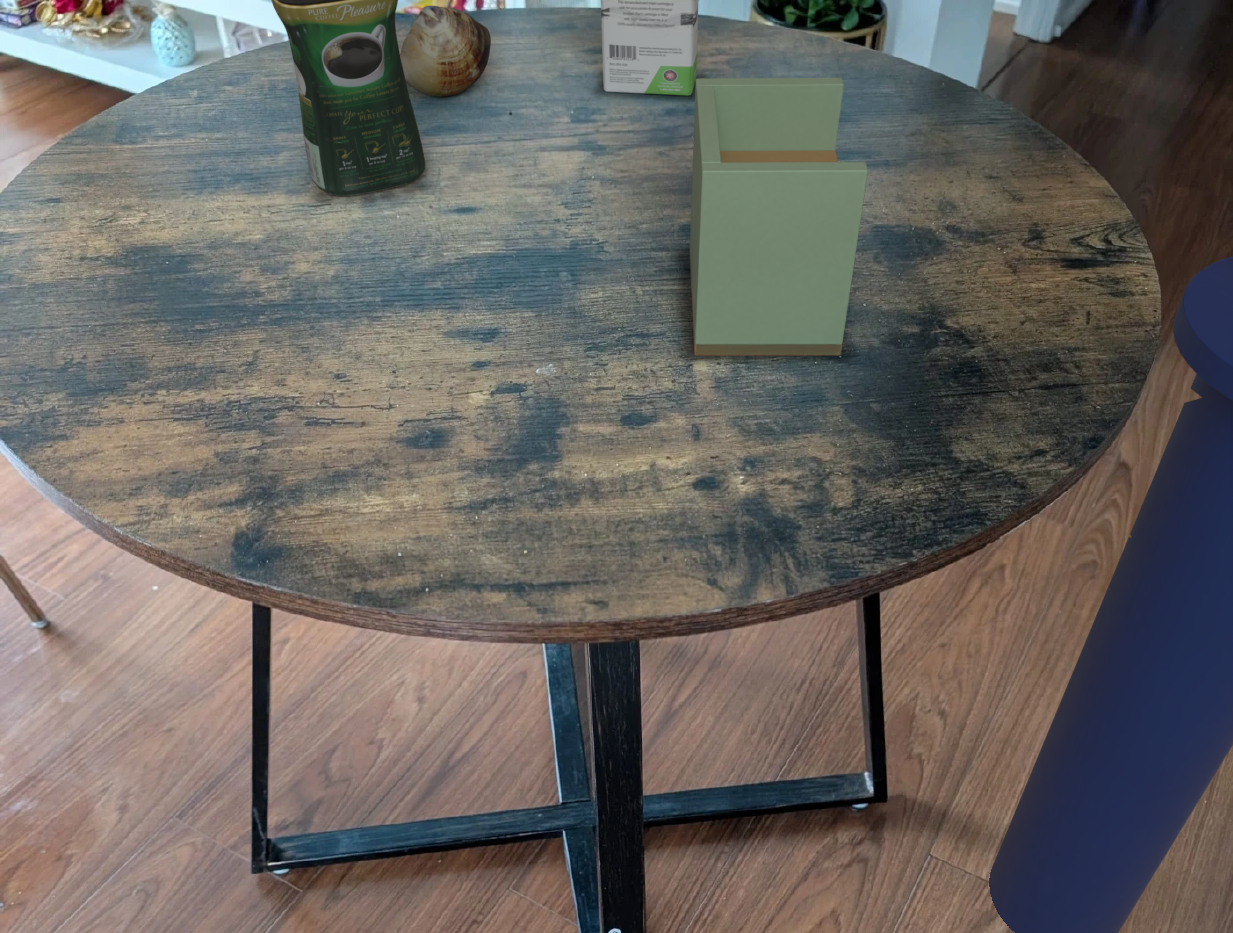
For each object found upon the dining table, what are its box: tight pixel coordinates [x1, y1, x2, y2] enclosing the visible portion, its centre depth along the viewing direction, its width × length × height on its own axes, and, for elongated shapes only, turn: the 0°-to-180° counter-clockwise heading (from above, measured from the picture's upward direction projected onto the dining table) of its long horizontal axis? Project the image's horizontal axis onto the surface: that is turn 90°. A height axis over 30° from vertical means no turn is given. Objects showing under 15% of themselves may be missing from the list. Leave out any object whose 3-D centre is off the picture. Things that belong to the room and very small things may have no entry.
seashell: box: [400, 5, 492, 97], centre depth 107 cm, size 10×6×8 cm, turn 127°
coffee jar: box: [271, 0, 426, 197], centre depth 92 cm, size 10×8×19 cm
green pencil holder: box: [689, 77, 869, 356], centre depth 79 cm, size 10×14×13 cm
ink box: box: [600, 0, 699, 96], centre depth 107 cm, size 9×5×12 cm, turn 80°
